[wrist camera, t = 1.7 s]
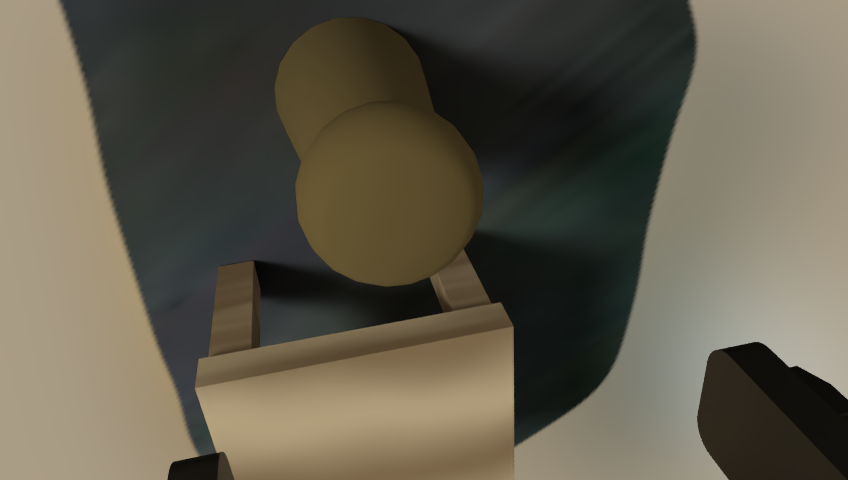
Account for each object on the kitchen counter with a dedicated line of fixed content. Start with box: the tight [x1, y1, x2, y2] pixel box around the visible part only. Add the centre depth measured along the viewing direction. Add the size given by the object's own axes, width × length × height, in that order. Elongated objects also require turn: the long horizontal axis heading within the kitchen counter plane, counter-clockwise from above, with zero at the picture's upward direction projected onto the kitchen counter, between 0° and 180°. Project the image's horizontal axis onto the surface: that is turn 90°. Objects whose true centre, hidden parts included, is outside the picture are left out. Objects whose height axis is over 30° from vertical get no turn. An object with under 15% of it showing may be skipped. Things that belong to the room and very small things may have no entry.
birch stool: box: [195, 249, 514, 480], centre depth 29 cm, size 11×11×8 cm
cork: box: [275, 17, 483, 287], centre depth 22 cm, size 6×6×11 cm
